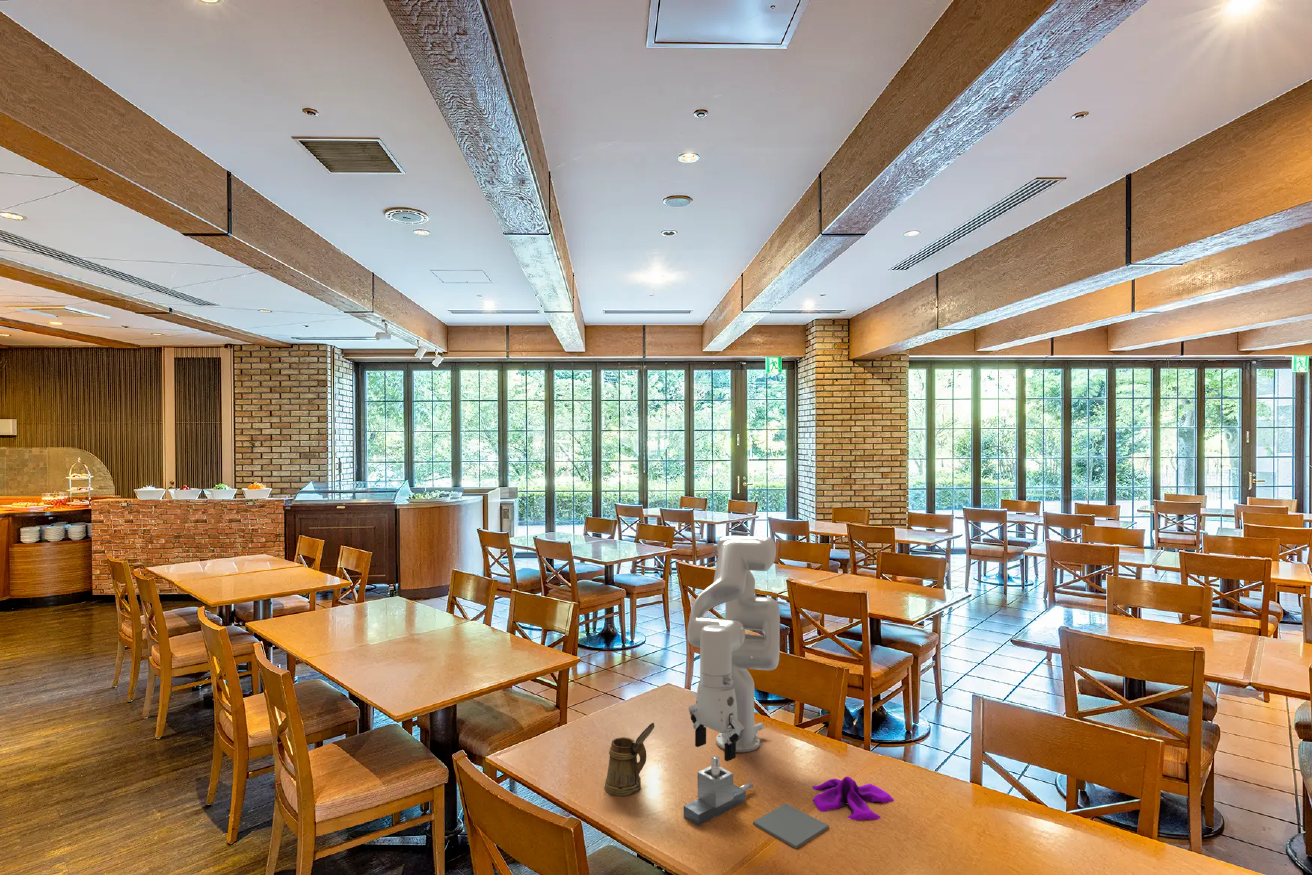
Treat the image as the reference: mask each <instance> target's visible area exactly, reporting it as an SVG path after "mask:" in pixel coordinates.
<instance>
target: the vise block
mask: <svg viewBox="0 0 1312 875" xmlns="http://www.w3.org/2000/svg"><path fill="white" fill-rule="evenodd" d="M720 761H721V758H720V756H718V755H712V756H711V761H710V762H711V763H710V764H711V765H710V766H711V776H712V777H713V778H715V779H716V778H718V777H720V767H721V762H720ZM753 787H754V783H753V782H752V781H749V782H748V783H745V784H743V785H742V786H738V785H735V784H733V799H732V800H730V801H728V802H726V803H724V804H722V805H721V806H719V807H717V808H715V807H713V806H711V805H710V804H708V803H706V802H705V801H703V800H701V799H699V798H698V797H697V798H696V799H695V800H692V801H690V802H688V803H686V804H684V805H683V818H686V819H687V820H688V821H690V822H691V823H693V824H695V825H696V826H698V827H699V826H701V825H704V824H705V823H708V822H709V821H711V820H713V819H714V818H717V817H719V816H720V815H723V814H725V813H726V812H729V811H730V810H732V809H734V808H736V807H737V806H740V805H741V804H742V805H743V803H745V802H747V801H746V800H747V799H746V796H747V795H746V794H747V793H746V792H747V791H748V790H749V789H751V788H753Z"/></svg>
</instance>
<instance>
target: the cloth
mask: <svg viewBox="0 0 1312 875" xmlns="http://www.w3.org/2000/svg"><path fill="white" fill-rule="evenodd" d="M812 789H813V790H815V791H818V792H819V791H820V793H818V794H816V795H815V796H814V797H813V798H812V801H813V804H814V805H815V807H816V808H817V809H818V811H819V812H822V813H825V812H827V811H833V810H838V809H841V808H843V807H847V806H849V808H850V809H851V814H850V815H847V818H848V819H849V818H850V820H852V821H862V820H864V821H865V820H866V821H867V820H868V821H869V820H879V819H881V818H882V816H881V815H880V814H877V813H875V812H874V811H872V810H871V809H870V807H869V806H868V804H867V803H866V802H867V801H868V803H870V804H874V803H883V804H884V803H892V802H895V799H894V798H893V797H892V796H891V795H890V794H889V793H888V792H886V791H885V790H884V789H882V788H880V787H878V786H876V785H875V784H872V783H867V784H864V785H860V786H858V784H857V783H856V781H855V780H854V779H853V778H851V777H850V776H844V777H843V779H839V778H831V779H828V780H825V781H824V782H823V783H820V784H819V785H813V786H812ZM821 791H823V792H821ZM847 803H848V804H847ZM879 815H880V816H879Z"/></svg>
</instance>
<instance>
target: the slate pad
mask: <svg viewBox="0 0 1312 875" xmlns="http://www.w3.org/2000/svg"><path fill="white" fill-rule="evenodd" d="M752 825H754V826H755V827H757V828H759V829H760V830H763V831H764V832H765V833H767V834H769V835H771V836H772V837H775V838H776V839H778V840H779V841H781V842H783V843H785V844H787V845H788V846H790V847H792V848H793V849H796V850H797V849H799V847H802V846H803V845H805V844H806V843H807V842H810V840H812V839H814V838H815V837H818V835H820V834H822V833H823V832H824V831H826V830H828V829H829V828H830V827H829V826H830V825H829V824H827V823H825V822H823V821H822V820H819V819H818V818H816V817H814V816H811V815H810V814H808V813H806V812H804V811H802V810H800V809H798V808H796V807H794V806H792V805H790V804H788V803H783V804H782V805H780V806H778V807H776V808H774V809H773V810H772V811H770V812H768V813H765V814H764V815H762V816H761V817H759V818H757V819H755V820H754V821H752Z"/></svg>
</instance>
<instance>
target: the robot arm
mask: <svg viewBox="0 0 1312 875" xmlns="http://www.w3.org/2000/svg"><path fill="white" fill-rule="evenodd" d="M716 551H717V560H716V565H715V571H714V577H713V581H712V584H710V585H709V586H707V587H705V589H703V591H702V592H701V593H700V594H699V595H697V596H696V598H695V600H694V601H693V603H692V605H691V610H690V613H689V619H688V624H687V632H686V633H687V640H688V643H689V644H690V645H691V646H693V647H694V648H700V652H699V655H700V656H699V682H698V685H697V692H696V699H695V704H693V705H689V706H688V711H689V716H690V719H691V722H692V724H693V725H692V727H693V729H694V730H695V731H694V733H695V734H694V736H695V737H694V741H695V742H694V746H695V747H697V748H699V747H701V746H705V745H706V744H707V728H709V729H711V730H713V731H716V732H718V734H717V735H716V737H715V743H716V745H717V746H718V747H719V748H721V749H723V750H724V761H725V762H730V761H733V760H734V759H736V757H737V753H748V752H753V751H754V750H755V751H756V749H758V748H759V746H760V742H761V741H760V739H759V738H760V737H758V736H757V733H758V732H759V731H761V730H764V728H765V725H764V723H763V722H759V723H756V724H755V682H754V681H755V680H754V679H753V677H752V675H751V673H750V672H749V671H748V670H757V671H758V670H759V671H773V670H775V669H777V667H778V665H779V662H780V640H781V639H780V630H781V628H780V627H781V626H780V624H781V618H780V617H781V615H780V613H781V612H780V607H779V603H778V601H777V600H775V599H774V598H771V597H768V596H756V594H755V593H756V592H755V590H756V579H755V576H754V575H753V573H752V572H751V571H756V572H757V571H758V572H766V571H768V570H770V569H771V567H772V566H773V565H774V562H775V560H776V557H777V556H776V555H777V547H776V543H775V541H774V539H773V538H772V537H770V536H756V535H755V536H751V535H750V536H749V535H724V536H722V537H719V539H718V540H717V543H716ZM723 604H725V609H724V610H725V611H724V613H725V618H722V617H721V618H720V617H708V616H705V614H706V613H707V612H708V611H710V610H711V609H713V608H714V607H717V606H720V605H723ZM746 630H750V631H751V630H753V631H761V632H762V633H763V635H760V634H751V633H746Z"/></svg>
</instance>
